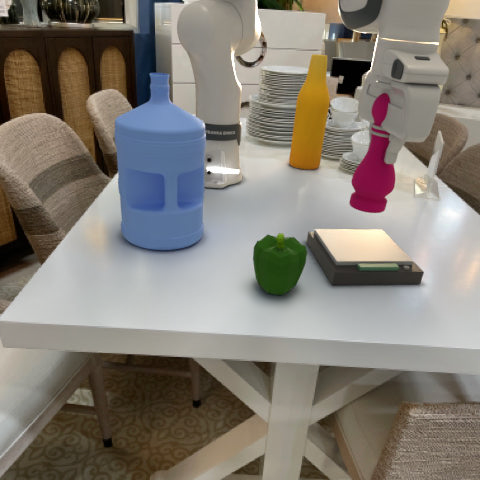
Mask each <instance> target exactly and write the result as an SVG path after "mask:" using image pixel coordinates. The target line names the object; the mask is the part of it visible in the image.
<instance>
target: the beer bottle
mask: <svg viewBox="0 0 480 480" xmlns="http://www.w3.org/2000/svg"><path fill="white" fill-rule="evenodd" d="M310 56H311V57H310V61H309V65H308V69H307V74H306V78H305V80H304V83H303V84H302V86H301V87H300V90H299V92H298V94H297V98H296V104H295V112H294V119H293V127H292V128H293V129H292V136H291V145H290V151H289V157H288V163H289V165H290V166H291V167H292V168H295V169H299V170H305V171H306V170H307V171H309V170H317V169H318V168H319V167H320V165H321V159H322V154H323V153H322V152H323V146H324V140H325V133H326V127H327V122H328V121H327V120H328V114H329V108H330V103H331V102H330V99H331V98H330V92H329V88H328V85H327V74H328V73H327V72H328V55H326V54H317V53H313V54H311V55H310Z"/></svg>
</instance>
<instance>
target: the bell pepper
mask: <svg viewBox="0 0 480 480" xmlns="http://www.w3.org/2000/svg"><path fill="white" fill-rule="evenodd" d="M307 249H308V248H307V247H306V245H305V244H302V243H301V242H300V241H299V240H298V239H296V237H294V236H286V237H285V234H284V233H282V232H279V233H278V234H277V235H276V236H274V235H272V234H266V235H265V236H264V237H263V238H262V239H259V240H257V241H256V242H255V244H254V246H253V254H252V262H253V263H252V264H253V269H254V270H253V271H254V275H255V280H256V282H257V284H258V286H259V287H261V288H262V290H264V291H265V292H266V293H267V294H271V295H274V296H277V295H278V296H283V295H285V294H287V293H289V292H290V291H291V290H292V289H294V288H295V287H296V286H297V284H298V282H299V280H300V278H301V276H302V274H303V271H304V268H305V266H306V263H307V258H308V250H307Z"/></svg>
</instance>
